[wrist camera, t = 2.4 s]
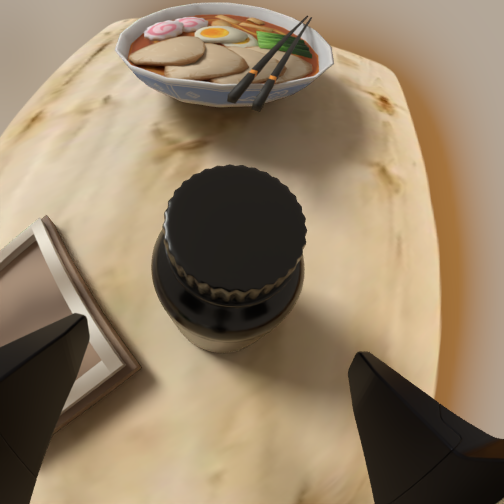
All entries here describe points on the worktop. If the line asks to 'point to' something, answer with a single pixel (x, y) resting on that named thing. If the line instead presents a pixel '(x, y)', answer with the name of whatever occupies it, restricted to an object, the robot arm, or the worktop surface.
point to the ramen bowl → (224, 54)
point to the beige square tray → (59, 312)
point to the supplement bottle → (229, 257)
